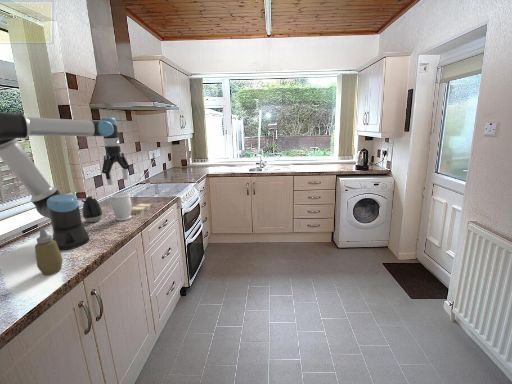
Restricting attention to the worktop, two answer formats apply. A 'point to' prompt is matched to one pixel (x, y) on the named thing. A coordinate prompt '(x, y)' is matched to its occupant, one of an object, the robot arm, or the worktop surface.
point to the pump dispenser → (91, 209)
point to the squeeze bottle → (47, 254)
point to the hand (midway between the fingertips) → (118, 182)
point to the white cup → (121, 206)
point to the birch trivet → (141, 208)
